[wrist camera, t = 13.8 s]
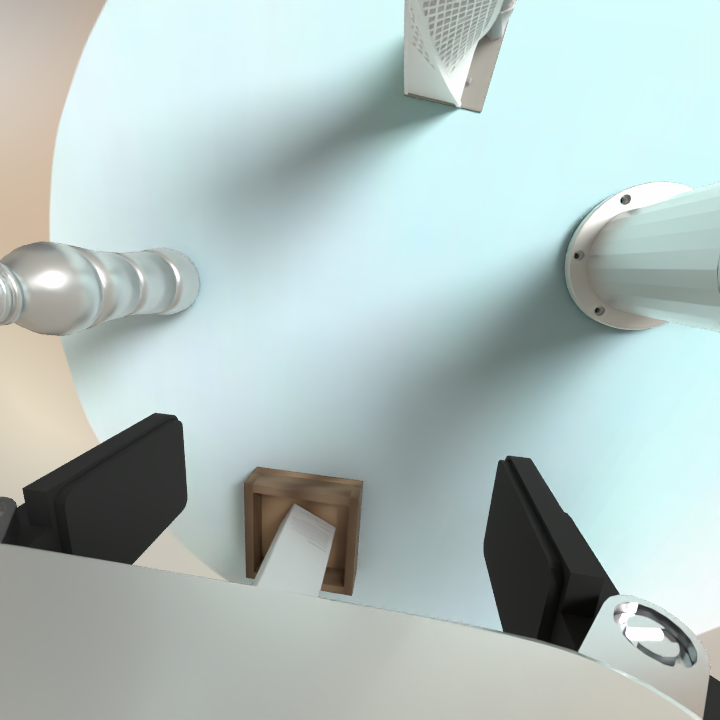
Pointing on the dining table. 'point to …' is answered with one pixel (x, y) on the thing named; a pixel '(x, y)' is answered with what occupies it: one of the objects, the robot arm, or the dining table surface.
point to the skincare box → (297, 554)
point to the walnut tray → (318, 496)
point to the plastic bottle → (91, 286)
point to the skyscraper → (453, 49)
